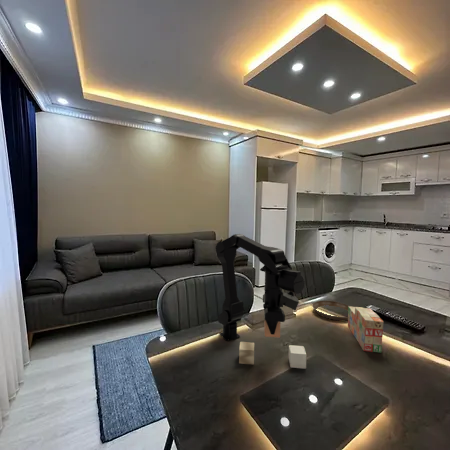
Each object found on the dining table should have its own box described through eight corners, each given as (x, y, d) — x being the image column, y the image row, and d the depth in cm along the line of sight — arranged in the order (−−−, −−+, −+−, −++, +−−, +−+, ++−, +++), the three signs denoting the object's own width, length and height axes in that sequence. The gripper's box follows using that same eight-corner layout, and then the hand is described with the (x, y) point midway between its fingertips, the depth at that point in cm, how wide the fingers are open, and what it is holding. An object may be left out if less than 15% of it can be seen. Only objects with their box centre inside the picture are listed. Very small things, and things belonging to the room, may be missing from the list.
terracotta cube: (264, 336, 84) (265, 321, 84) (264, 329, 89) (264, 315, 89) (280, 337, 84) (280, 322, 84) (278, 330, 89) (279, 316, 89)
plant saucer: (364, 323, 118) (365, 316, 118) (320, 322, 119) (320, 315, 119) (344, 306, 139) (344, 300, 139) (307, 306, 139) (307, 300, 139)
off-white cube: (290, 367, 84) (290, 353, 84) (288, 358, 89) (288, 345, 89) (305, 368, 83) (306, 354, 83) (303, 359, 88) (303, 346, 88)
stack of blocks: (347, 325, 115) (348, 299, 115) (362, 327, 114) (363, 300, 114) (363, 351, 94) (365, 319, 94) (382, 353, 93) (383, 321, 93)
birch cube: (239, 363, 86) (239, 349, 86) (239, 355, 91) (240, 341, 90) (253, 364, 85) (254, 350, 85) (253, 356, 90) (254, 342, 90)
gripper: (302, 296, 76) (301, 346, 76) (293, 279, 94) (291, 320, 95) (265, 294, 77) (264, 344, 78) (263, 278, 95) (262, 318, 96)
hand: (272, 330), depth 87 cm, fingers closed on terracotta cube, 5 cm apart
